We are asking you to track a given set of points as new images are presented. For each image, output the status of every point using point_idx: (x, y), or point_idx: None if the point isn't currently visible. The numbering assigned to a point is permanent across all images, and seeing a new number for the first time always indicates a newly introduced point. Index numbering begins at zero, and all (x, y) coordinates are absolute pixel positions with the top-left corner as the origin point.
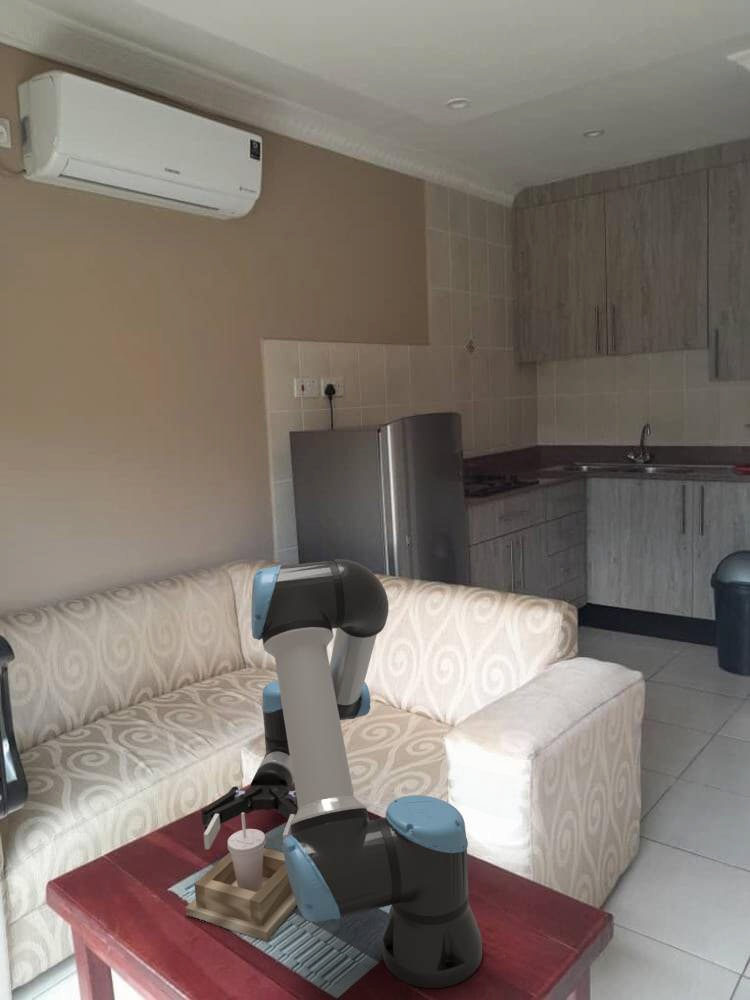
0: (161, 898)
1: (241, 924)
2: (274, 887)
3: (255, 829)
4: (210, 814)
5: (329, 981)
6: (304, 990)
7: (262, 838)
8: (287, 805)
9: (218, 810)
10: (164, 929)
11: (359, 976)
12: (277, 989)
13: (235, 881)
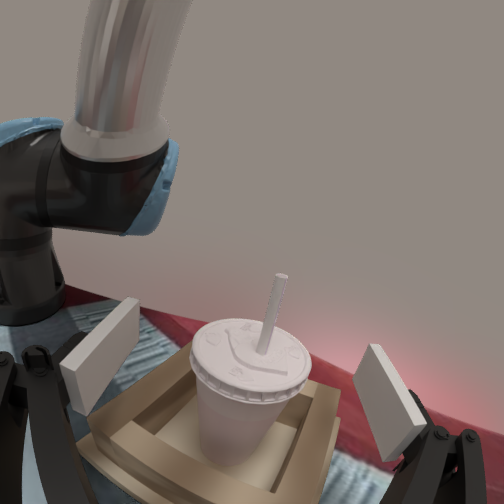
0: (398, 457)
1: None
2: (170, 357)
3: (231, 381)
4: (440, 427)
5: None
6: (148, 309)
7: (200, 340)
8: (61, 448)
9: (433, 448)
10: (349, 405)
11: (92, 303)
12: (175, 316)
13: (272, 481)
